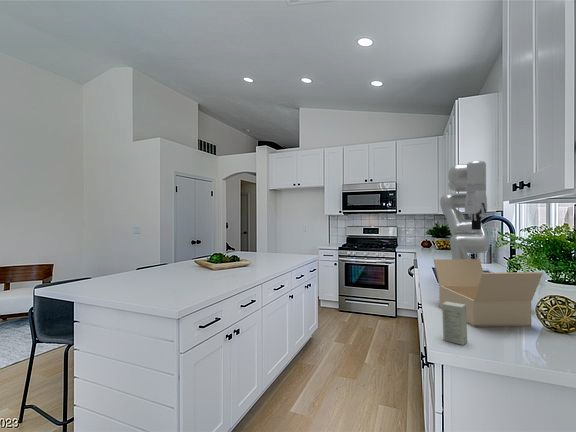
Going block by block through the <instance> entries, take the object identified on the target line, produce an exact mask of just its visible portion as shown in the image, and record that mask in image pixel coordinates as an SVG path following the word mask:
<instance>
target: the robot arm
mask: <svg viewBox="0 0 576 432" xmlns="http://www.w3.org/2000/svg"><path fill="white" fill-rule="evenodd" d="M447 179H448V189H449V190H451V191H453V192H455V193H446V194H443V195H442V196H441V197H440V200H439V203H440V208H441V211H442V212H441V213H442V214H443V215H444V217H445V218H446V220H447V223H448V224H447V225H448V228H449V232H450V234H451V235H452V236H450V239H449V243H450V244H449V245H450V251H451V259H472V257H470V255H469V253H473V254H474V253H476V254H478V253H479V254H481V253H487V252H488V251H489V250H490V241H489V237H488V235H487V232H486V228H485V226H484V223H482V220H483V218H484V217H485V216H486V213H487V212H488V198H487V163H486V162H485V161H484V160H483V161H482V160H475V161H474V160H473V161H469V162H468V163H463V164H454V165H452V166H451V167H450V168H449V170H448V173H447ZM462 208H463V209H464V213H465V214H466V215H468V217H469V218H470V219H465V216H464V214H463V213H462V212H461V211H460V210H459V209H462ZM449 286H468V285H449Z"/></svg>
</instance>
